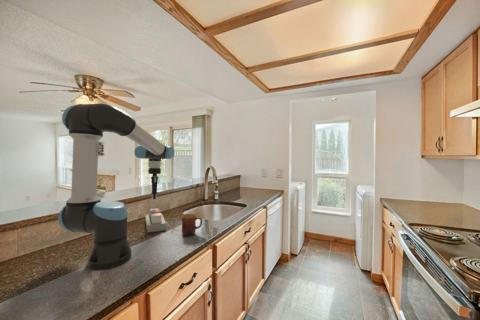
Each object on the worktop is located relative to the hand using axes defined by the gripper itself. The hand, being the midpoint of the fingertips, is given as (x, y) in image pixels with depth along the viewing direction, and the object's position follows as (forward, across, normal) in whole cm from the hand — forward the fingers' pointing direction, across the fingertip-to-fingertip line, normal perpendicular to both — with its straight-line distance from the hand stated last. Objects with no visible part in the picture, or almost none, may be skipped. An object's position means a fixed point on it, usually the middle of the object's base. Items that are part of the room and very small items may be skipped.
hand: (154, 203), depth 132 cm
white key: (+8, -15, 0) cm, 17 cm away
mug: (+12, -32, -17) cm, 38 cm away
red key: (+8, -7, 0) cm, 11 cm away
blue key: (+8, 0, 0) cm, 8 cm away
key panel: (+12, -7, 0) cm, 14 cm away
